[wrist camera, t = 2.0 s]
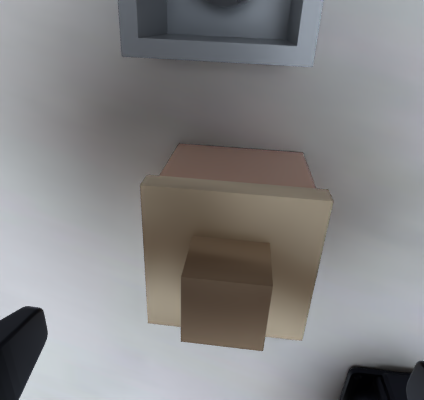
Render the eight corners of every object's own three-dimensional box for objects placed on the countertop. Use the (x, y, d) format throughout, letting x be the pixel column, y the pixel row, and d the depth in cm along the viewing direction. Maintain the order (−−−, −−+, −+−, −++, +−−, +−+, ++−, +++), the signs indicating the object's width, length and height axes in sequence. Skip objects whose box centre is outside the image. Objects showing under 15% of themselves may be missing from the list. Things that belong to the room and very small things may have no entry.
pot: (285, 255, 21) (294, 318, 16) (179, 244, 21) (159, 303, 17) (302, 152, 18) (318, 195, 14) (179, 143, 18) (154, 182, 14)
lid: (299, 323, 17) (309, 393, 13) (153, 307, 17) (131, 371, 14) (328, 189, 13) (350, 240, 10) (147, 174, 14) (116, 218, 11)
